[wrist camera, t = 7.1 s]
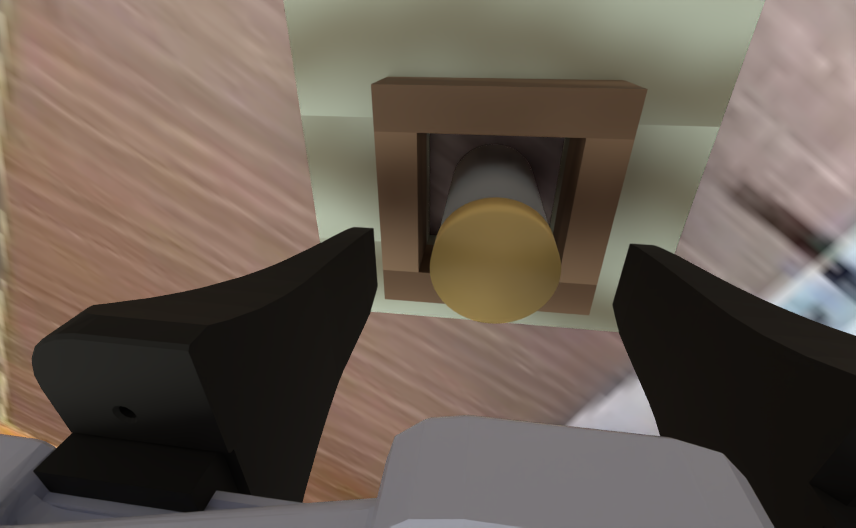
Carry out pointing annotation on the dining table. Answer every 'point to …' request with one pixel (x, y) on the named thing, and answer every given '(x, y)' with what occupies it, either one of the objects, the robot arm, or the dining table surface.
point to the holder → (515, 122)
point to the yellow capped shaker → (494, 240)
